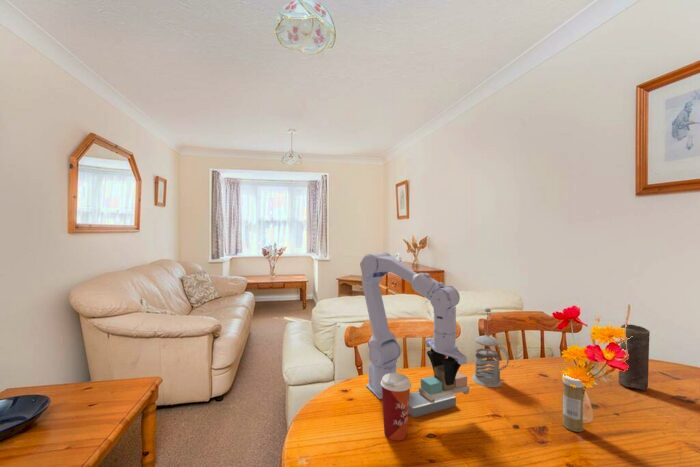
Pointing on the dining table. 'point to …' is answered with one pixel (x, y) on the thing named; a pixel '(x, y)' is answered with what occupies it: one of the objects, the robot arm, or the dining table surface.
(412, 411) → the dock
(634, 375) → the candle
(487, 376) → the french press
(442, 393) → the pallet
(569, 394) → the sprinkles bottle
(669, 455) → the dining table surface
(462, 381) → the block
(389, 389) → the paper cup
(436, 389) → the block
